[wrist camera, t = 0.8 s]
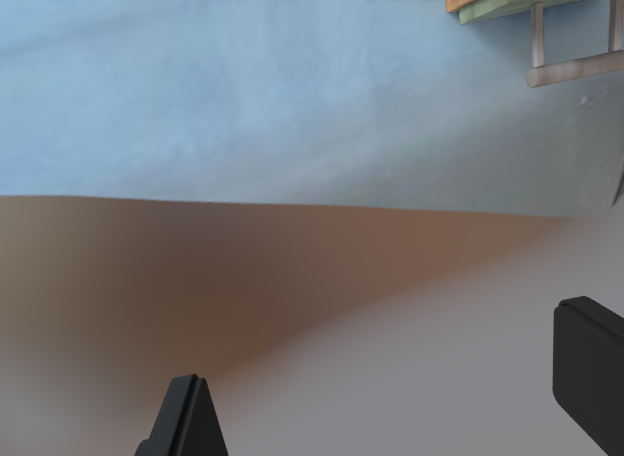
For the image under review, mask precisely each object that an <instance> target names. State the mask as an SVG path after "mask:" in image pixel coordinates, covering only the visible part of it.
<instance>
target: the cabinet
mask: <svg viewBox="0 0 624 456" xmlns="http://www.w3.org/2000/svg"><path fill="white" fill-rule="evenodd" d="M473 1H475V0H446V8H447V13H448V12H453V11H458V10H459V9H460V8H462V7H464V6H465V5H467V4H469V3H471V2H473Z"/></svg>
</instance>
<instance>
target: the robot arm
mask: <svg viewBox="0 0 624 456" xmlns="http://www.w3.org/2000/svg"><path fill="white" fill-rule="evenodd" d="M553 337H554V338H553V394H554V396H555V399H556V401H557V402H558V404H559V405H560V406H561V407H562V408H563V409H564V410H565V411H566V412H567V413H568V414H569V415H570V417H572V418H573V420H574V421H575V422H576V423H577V424H578V425H579V426H580V427H581V428H582V429H583V430H584V431H585V432H586V433H587V434H588V435H589V436H590V437H591V438H592V439H593V440H594V441H595V442H596V443H597V444H598V446H600V448H601V449H602V450H604V452H605V453H606V454H607V455H608V456H624V318H622V317H621V316H619V315H617V314H616V313H614V312H612V311H610V310H609V309H607V308H606V307H604V306H602V305H601V304H599V303H597V302H596V301H594V300H592V299H590V298H588V297H586V296H581V297H576V298H571V299H566V300H562V301H561V302H560V303H559V306H558V307H556V308H555V310H554V336H553ZM134 456H228V452H227V449H226V446H225V442H224V439H223V436H222V432H221V429H220V426H219V422H218V419H217V415H216V412H215V409H214V405H213V402H212V399H211V395H210V392H209V389H208V385H207V382H206V380H205V378H201V379H199V378H198V376H197V375H196V374H191V375H186V376H181V377H176V378H173V379H172V381H171V383H170V385H169V388H168V391H167V393H166V396H165V398H164V401H163V404H162V406H161V409H160V411H159V414H158V416H157V419H156V421H155V424H154V427H153V429H152V432H151V434H150V437H149V439H146V440H143V441H142V442H141V443H140V444H139V446H138V448H137V450H136V453H135V455H134Z"/></svg>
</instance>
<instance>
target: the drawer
mask: <svg viewBox="0 0 624 456" xmlns="http://www.w3.org/2000/svg"><path fill="white" fill-rule="evenodd" d="M578 1H583V0H475V1H473V2H471V3H469V4H467V5H465V6H464V7H462V8H460V9H459V18H460V25H463V24H468V23H473V22H478V21H483V20H488V19H493V18H498V17H503V16H508V15H513V14H518V13H523V12H528V11H531V44H532V68H531V69H530V70H529V71H528V73H527V76H526V81H527V84H528V86H529V87H530V88H535V87H539V86H544V85H549V84H554V83H559V82H564V81H568V80H573V79H578V78H583V77H588V76H593V75H597V74H602V73H607V72H612V71H617V70H621V69H623V68H624V50H622V32H623V10H624V0H610V20H609V48H608V52H609V53H604V54H599V55H594V56H590V57H585V58H580V59H575V60H570V61H565V62H560V63H555V64H551V65H546V66H544V26H543V8H548V7H553V6H558V5H563V4H568V3H573V2H578Z"/></svg>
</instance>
